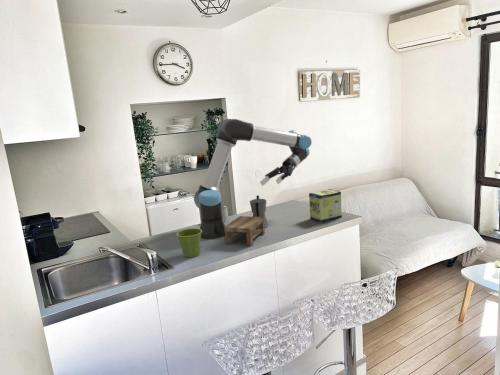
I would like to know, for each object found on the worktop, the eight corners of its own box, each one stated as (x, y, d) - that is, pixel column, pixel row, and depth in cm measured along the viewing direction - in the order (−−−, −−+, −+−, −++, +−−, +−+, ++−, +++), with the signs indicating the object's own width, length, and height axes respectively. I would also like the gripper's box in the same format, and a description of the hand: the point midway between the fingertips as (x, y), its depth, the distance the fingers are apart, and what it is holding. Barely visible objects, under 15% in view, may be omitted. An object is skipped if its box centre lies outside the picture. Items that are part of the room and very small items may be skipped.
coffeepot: (252, 223, 222) (250, 193, 218) (268, 222, 221) (266, 192, 217) (250, 231, 207) (247, 199, 203) (267, 231, 206) (265, 198, 202)
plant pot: (180, 251, 184) (177, 229, 182) (204, 249, 185) (202, 227, 182) (177, 261, 172) (174, 237, 170) (203, 258, 173) (201, 234, 171)
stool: (225, 244, 189) (223, 227, 187) (241, 232, 207) (239, 216, 205) (251, 246, 184) (250, 228, 182) (265, 233, 202) (264, 216, 200)
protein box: (309, 219, 222) (308, 193, 219) (330, 214, 229) (329, 188, 226) (321, 222, 213) (319, 195, 210) (342, 217, 220) (341, 191, 217)
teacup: (220, 224, 225) (219, 211, 223) (207, 222, 232) (205, 209, 230) (235, 218, 236) (234, 205, 234) (222, 216, 242) (221, 204, 241)
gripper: (309, 166, 216) (287, 187, 205) (279, 170, 236) (258, 189, 225) (303, 155, 214) (281, 175, 203) (274, 160, 234) (252, 179, 222)
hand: (269, 183), depth 214 cm, fingers open, 13 cm apart
